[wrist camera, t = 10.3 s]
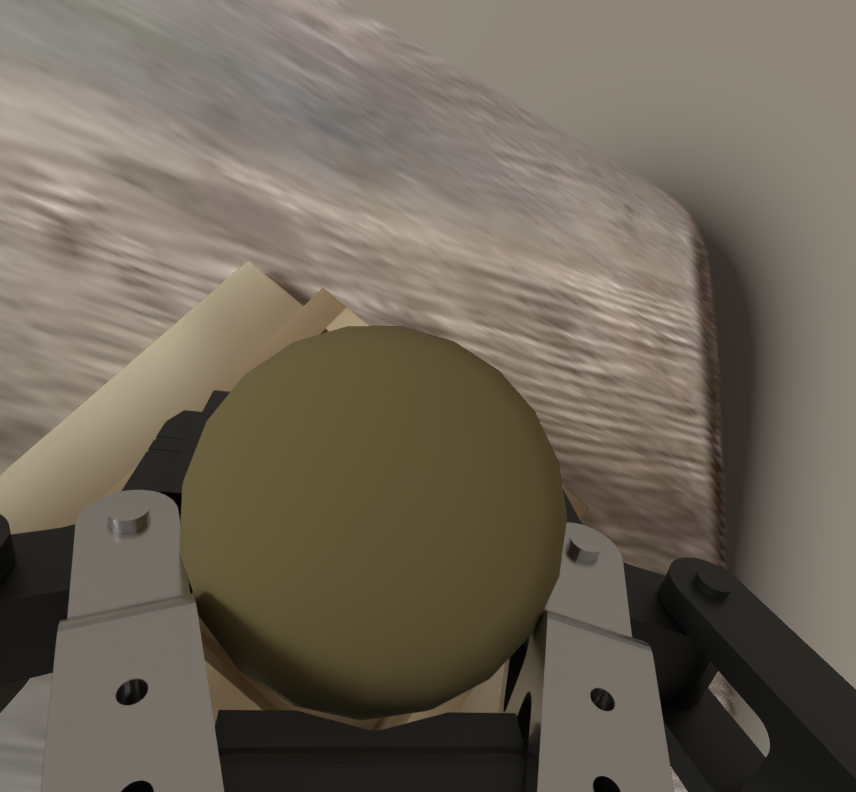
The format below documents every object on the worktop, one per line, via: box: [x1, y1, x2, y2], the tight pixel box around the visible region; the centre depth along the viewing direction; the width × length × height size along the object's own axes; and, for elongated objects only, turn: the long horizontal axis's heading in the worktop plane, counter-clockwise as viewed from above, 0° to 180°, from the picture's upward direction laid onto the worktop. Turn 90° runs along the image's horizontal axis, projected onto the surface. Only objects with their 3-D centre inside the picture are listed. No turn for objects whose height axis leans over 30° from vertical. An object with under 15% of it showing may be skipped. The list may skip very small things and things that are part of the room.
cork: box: [179, 326, 567, 721], centre depth 11 cm, size 6×6×11 cm
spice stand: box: [0, 261, 588, 730], centre depth 17 cm, size 18×13×4 cm
